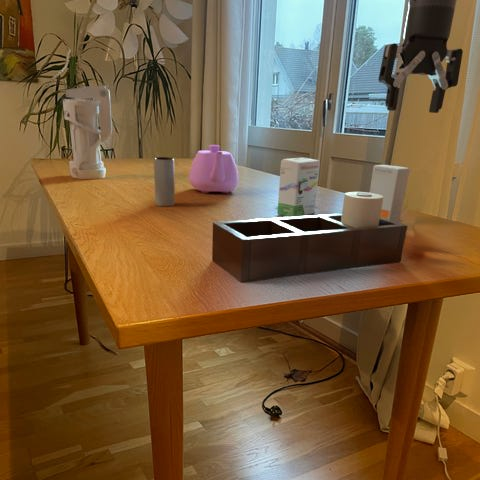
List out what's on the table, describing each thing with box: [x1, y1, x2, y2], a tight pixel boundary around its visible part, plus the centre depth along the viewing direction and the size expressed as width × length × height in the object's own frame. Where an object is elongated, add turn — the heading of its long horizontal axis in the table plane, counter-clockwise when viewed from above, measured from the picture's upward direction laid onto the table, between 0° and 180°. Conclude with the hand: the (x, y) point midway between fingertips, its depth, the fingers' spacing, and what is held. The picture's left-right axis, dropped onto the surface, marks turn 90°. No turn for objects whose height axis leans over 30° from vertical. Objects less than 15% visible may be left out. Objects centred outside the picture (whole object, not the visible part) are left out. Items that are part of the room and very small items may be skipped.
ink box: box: [276, 157, 321, 217], centre depth 105 cm, size 8×5×12 cm, turn 139°
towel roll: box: [341, 191, 383, 228], centre depth 77 cm, size 6×6×10 cm
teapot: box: [188, 144, 239, 194], centre depth 127 cm, size 20×13×12 cm, turn 11°
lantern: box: [62, 85, 113, 180], centre depth 139 cm, size 13×10×25 cm
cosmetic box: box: [369, 164, 411, 223], centre depth 98 cm, size 6×4×12 cm
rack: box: [211, 213, 408, 283], centre depth 74 cm, size 29×10×6 cm, turn 116°
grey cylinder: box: [153, 156, 176, 207], centre depth 109 cm, size 4×4×10 cm
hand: (412, 111), depth 87 cm, fingers open, 8 cm apart
